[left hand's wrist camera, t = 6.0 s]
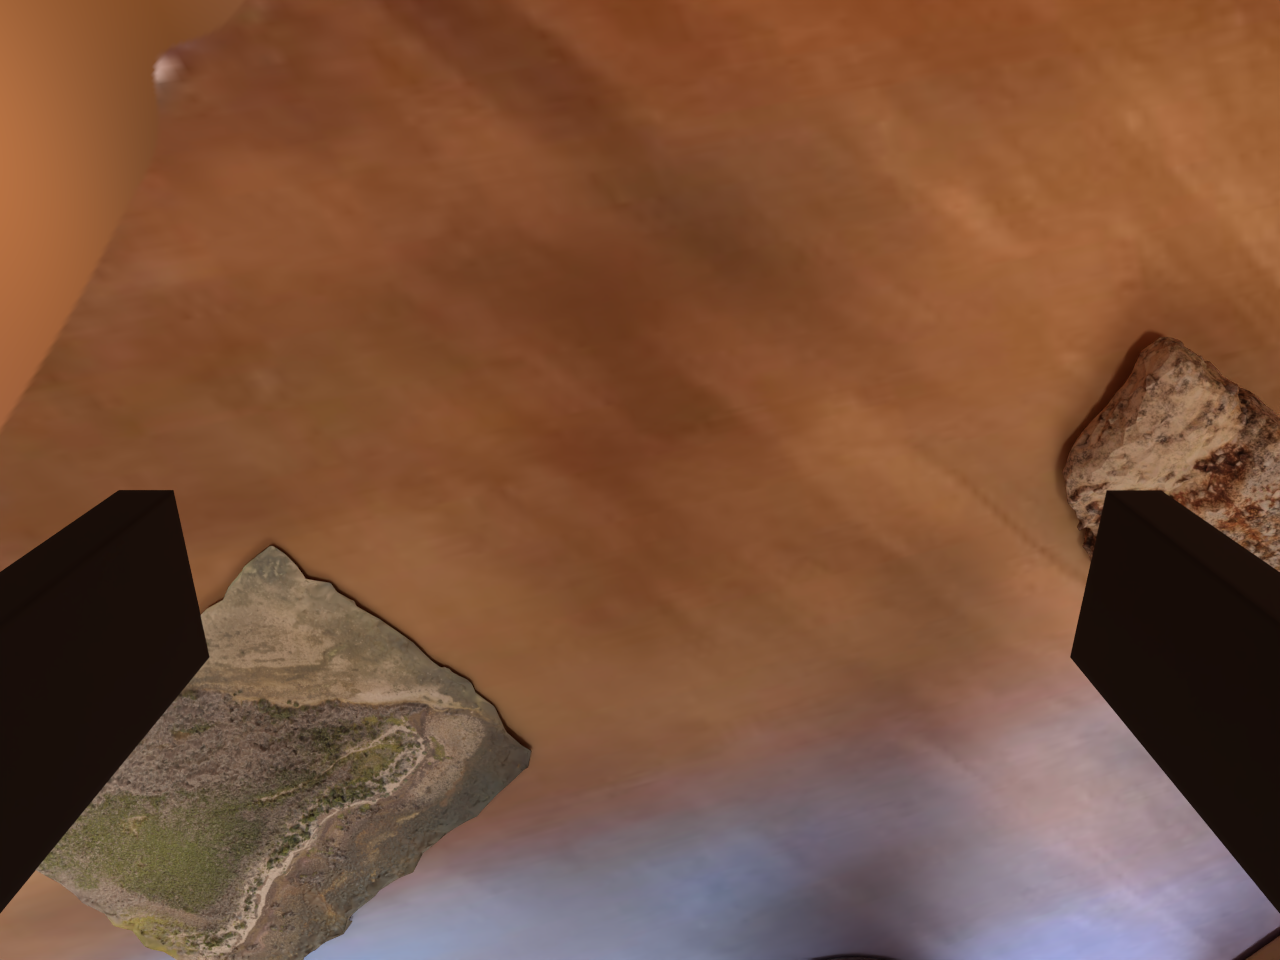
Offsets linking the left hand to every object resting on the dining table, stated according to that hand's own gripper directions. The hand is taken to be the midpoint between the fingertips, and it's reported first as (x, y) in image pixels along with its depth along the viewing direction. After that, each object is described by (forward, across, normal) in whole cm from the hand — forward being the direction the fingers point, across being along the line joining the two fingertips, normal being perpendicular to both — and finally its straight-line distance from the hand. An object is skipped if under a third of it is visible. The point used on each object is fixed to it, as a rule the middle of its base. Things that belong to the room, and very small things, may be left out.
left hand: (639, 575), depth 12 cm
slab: (+28, +21, +29) cm, 46 cm away
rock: (+28, -26, +10) cm, 40 cm away
